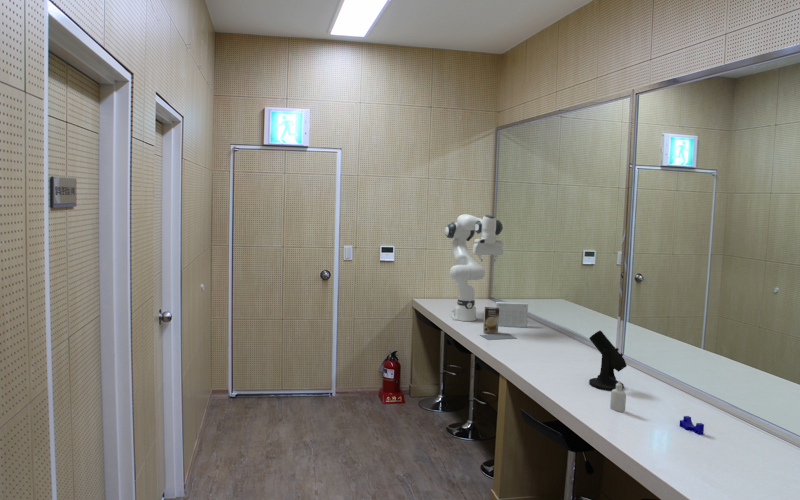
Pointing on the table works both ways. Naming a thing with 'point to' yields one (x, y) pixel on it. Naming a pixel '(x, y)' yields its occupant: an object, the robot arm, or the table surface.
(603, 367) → the microphone
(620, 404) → the eye dropper bottle
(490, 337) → the mat
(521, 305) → the skincare box
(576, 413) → the table surface
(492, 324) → the coffee box
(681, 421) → the cable holder
